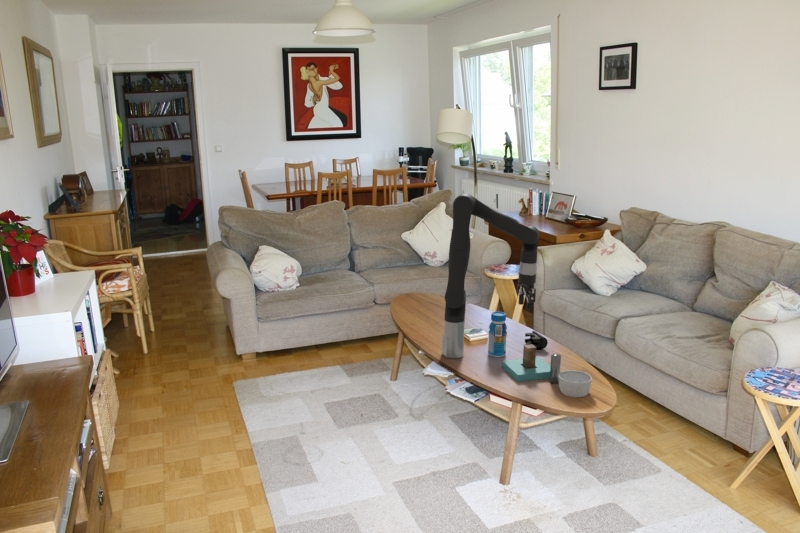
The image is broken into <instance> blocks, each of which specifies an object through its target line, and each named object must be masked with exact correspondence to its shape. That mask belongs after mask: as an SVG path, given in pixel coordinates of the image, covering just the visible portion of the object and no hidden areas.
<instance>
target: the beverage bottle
mask: <svg viewBox="0 0 800 533" xmlns="http://www.w3.org/2000/svg"><path fill="white" fill-rule="evenodd" d="M490 314H491V315H490V321H491V322H490V324H489V326H488V328H489V330H488V343H487V344H488V347H487V353H488V355H489V356H491V357H494V358H501V357H502V358H503V357H505V356H506V353H507V351H506V348H507V335H508V331H507V329H508V326H507V324H506V321H507V320H506V319H507V314H506V313H505V312H503V311H493V312H491V313H490Z"/></svg>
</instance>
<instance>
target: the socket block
mask: <svg viewBox="0 0 800 533" xmlns="http://www.w3.org/2000/svg"><path fill="white" fill-rule="evenodd" d="M550 366H551V364H549V363H548V362H546V361H545V360H543V359H542V358H541V357H539V356H538V357H537V356H536V360H535V368H530V369H525V368H524V367H523V358H519V359H510V360H502V361H501V368H502V369H503V370H505V372H506V373H508V374H509V376H511V377H512V378H513V380H515V381H516V382H526V381H536V380H545V379H550Z"/></svg>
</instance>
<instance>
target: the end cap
mask: <svg viewBox="0 0 800 533" xmlns="http://www.w3.org/2000/svg"><path fill="white" fill-rule="evenodd" d="M524 337H525V339H524V345H531V344H532V345H534V346H535V347H536V350H541V351H543V350H544V349H545V348H547V346H548V344H549V343H548V339H547V338H546V337H545V336H543V335H542V334H540V333H539V332H537V331H535V330H532V332H525V335H524ZM527 337H529V338H527Z"/></svg>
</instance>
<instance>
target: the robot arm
mask: <svg viewBox="0 0 800 533" xmlns="http://www.w3.org/2000/svg"><path fill="white" fill-rule="evenodd" d="M472 216H475V217H477V218H480V219H482V220H483V221H485V222H487V223H488V224H489V225H491V226H493V228H496V229H498V230H500V231H502V232H504V233H506V234H508V235H510V236H512V237H514V238H515V239H517V240H519V241H520V242H521V243H522V245H521V246H522V248H521V252H520V261H519V262H520V263H519V265H518V266H519V268H518V280H517V285H516V294H517V296H518V305H519V306H520V305H521V306H523V305H524V302H525V298H526V311H532V309H533V303H535V302H536V294H537V293H536V292H537V291H536V290H537V289H536V288H533V285H534V284H536V281H537V270H538V265H537V263H538V246H539V240H540V231H539V229H538V228H537V227H536V226H534V225H528V226H527V225H525V224H523V223H521V222H520V220H518V219H516V218H514V217H511V216H510V215H508V214H505V213H503V212H502V211H498V210H496V209H494V208H492V207H490V206H488V205H486V204H485V203H483V202H482V201H481V200H479V199H477V197H475V196H473V195H472V194H470V193H461V194H459V195H458V196H456V197H455V198H454V200H453V202H452V230H451V235H450V242H449V251H448V265H447V266H448V279H447V284H446V288H445V289H446V290H445V294H444V301H445V308H444V322H443V324H444V326H443V328H444V329H443V330H444V332H443V334H442V343H441V354H442V355H443V356H444V357H445V358H446V359H460V358H463V357H464V352H465V351H464V348H465V345H464V344H465V320H466V307H467V306H466V305H467V304H466V302H467V299H466V298H467V293H466V290H465V280H466V274H467V270H468V268H469V261H470V254H471V235H470V223H471V218H472Z"/></svg>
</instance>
